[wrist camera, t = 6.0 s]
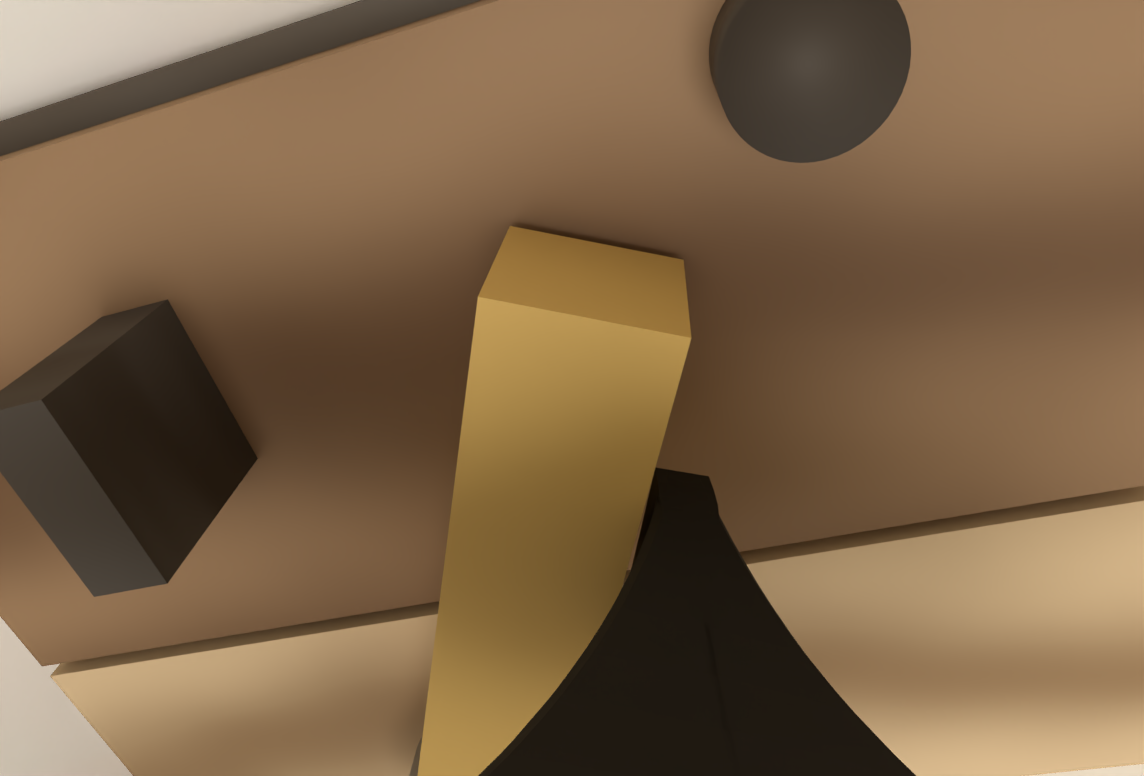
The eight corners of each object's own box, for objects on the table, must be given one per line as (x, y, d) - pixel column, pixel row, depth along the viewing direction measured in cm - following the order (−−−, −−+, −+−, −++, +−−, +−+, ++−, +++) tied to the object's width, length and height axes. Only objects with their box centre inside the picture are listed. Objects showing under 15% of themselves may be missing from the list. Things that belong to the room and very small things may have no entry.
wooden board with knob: (1092, 638, 19) (1280, 945, 13) (253, 748, 23) (128, 1010, 18) (1103, -248, 11) (1569, -418, 5) (-155, 173, 16) (-605, 318, 10)
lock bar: (556, 825, 18) (544, 945, 16) (410, 798, 18) (378, 915, 16) (712, 265, 11) (727, 344, 9) (480, 220, 11) (442, 289, 9)
